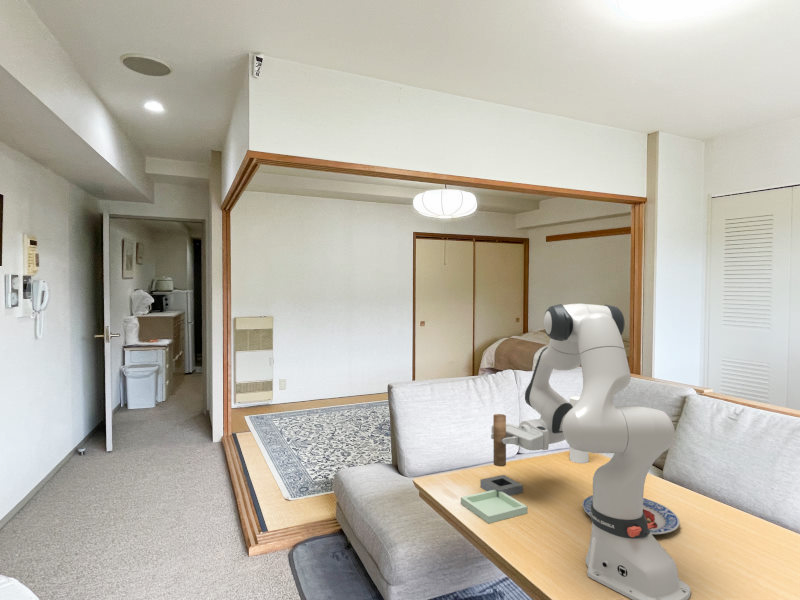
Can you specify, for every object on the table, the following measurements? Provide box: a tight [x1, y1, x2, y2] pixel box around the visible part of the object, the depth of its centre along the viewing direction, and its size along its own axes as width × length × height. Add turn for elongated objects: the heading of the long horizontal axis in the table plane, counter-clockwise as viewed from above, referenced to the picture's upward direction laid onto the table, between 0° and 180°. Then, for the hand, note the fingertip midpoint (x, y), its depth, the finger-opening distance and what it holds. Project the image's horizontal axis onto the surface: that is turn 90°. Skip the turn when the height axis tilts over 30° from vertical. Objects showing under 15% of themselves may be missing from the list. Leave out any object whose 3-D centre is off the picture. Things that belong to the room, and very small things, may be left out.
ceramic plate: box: [582, 494, 680, 536], centre depth 138 cm, size 26×26×3 cm
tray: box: [460, 490, 529, 524], centre depth 143 cm, size 14×14×2 cm
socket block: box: [479, 474, 524, 497], centre depth 157 cm, size 10×10×3 cm
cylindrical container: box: [569, 395, 589, 464], centre depth 186 cm, size 7×7×25 cm
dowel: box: [492, 413, 507, 467], centre depth 152 cm, size 4×4×16 cm
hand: (497, 438), depth 151 cm, fingers closed on dowel, 4 cm apart
